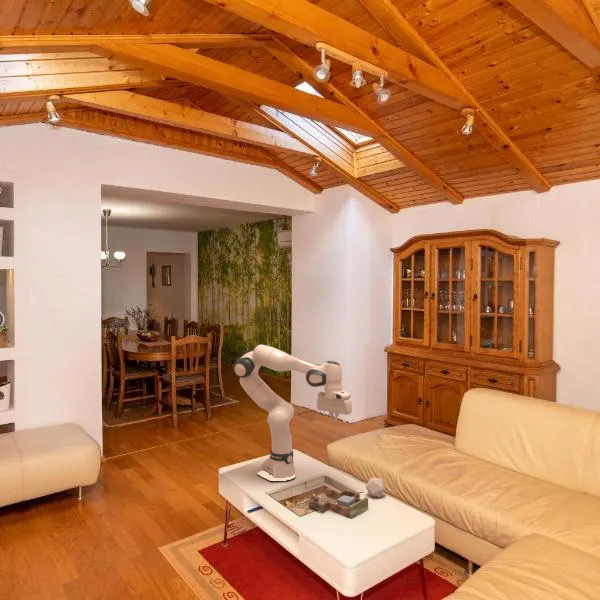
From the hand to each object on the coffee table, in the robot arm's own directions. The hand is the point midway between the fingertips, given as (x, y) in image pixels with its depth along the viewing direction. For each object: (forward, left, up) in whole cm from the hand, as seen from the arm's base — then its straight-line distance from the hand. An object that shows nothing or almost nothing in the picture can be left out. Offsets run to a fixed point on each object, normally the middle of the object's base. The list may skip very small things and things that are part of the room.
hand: (334, 421), depth 241 cm
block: (+18, -14, -34) cm, 41 cm away
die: (+20, +6, -34) cm, 40 cm away
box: (+14, -15, -34) cm, 40 cm away
